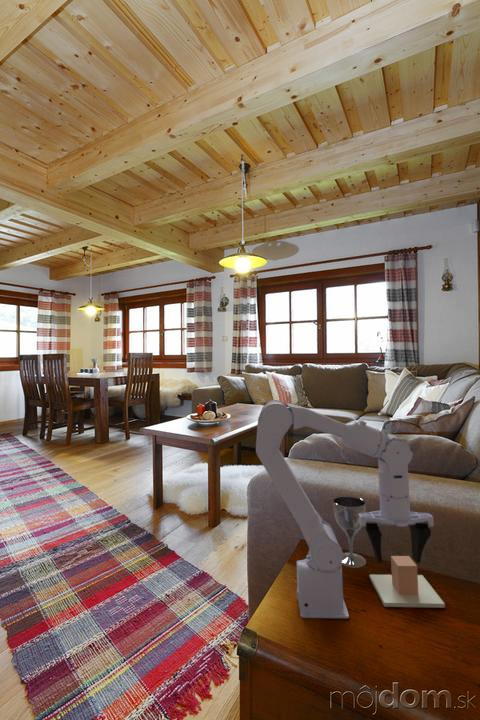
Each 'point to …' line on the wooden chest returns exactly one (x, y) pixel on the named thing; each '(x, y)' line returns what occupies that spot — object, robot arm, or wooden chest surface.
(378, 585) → the mat
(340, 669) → the wooden chest surface
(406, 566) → the block
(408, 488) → the robot arm
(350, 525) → the wine glass
